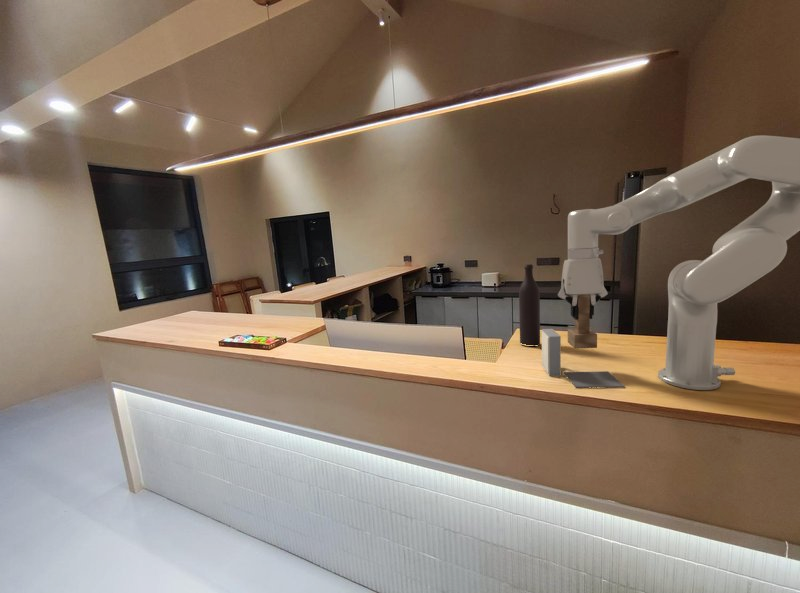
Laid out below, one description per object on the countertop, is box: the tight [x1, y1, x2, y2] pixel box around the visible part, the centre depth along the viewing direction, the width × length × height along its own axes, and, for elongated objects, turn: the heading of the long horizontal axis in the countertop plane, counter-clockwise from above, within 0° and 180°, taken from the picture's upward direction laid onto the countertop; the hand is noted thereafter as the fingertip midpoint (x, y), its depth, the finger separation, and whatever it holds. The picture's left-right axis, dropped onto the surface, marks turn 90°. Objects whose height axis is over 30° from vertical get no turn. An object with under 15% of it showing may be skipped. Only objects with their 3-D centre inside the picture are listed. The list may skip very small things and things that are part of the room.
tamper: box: [567, 295, 598, 349], centre depth 99 cm, size 6×6×16 cm
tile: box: [541, 328, 562, 377], centre depth 102 cm, size 3×8×12 cm, turn 171°
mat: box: [563, 370, 626, 389], centre depth 95 cm, size 12×10×1 cm
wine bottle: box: [518, 263, 541, 346], centre depth 126 cm, size 7×7×30 cm
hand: (582, 317), depth 99 cm, fingers closed on tamper, 3 cm apart
